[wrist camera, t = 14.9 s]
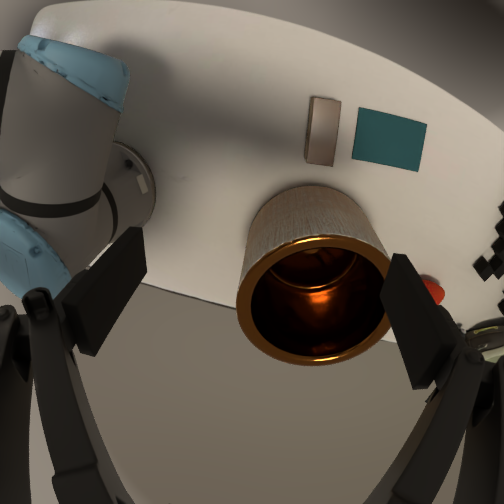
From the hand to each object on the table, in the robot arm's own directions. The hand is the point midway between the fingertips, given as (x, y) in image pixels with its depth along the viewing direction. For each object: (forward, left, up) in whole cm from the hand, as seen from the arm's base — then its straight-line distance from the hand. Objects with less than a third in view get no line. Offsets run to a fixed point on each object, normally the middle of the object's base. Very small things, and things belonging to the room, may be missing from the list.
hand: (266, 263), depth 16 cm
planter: (+6, -12, -27) cm, 30 cm away
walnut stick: (+5, +5, -27) cm, 28 cm away
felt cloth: (+15, +5, -27) cm, 31 cm away
